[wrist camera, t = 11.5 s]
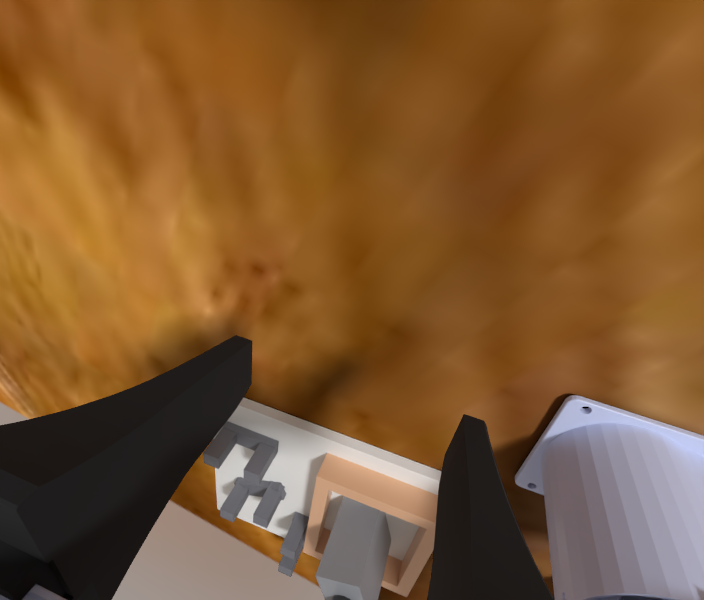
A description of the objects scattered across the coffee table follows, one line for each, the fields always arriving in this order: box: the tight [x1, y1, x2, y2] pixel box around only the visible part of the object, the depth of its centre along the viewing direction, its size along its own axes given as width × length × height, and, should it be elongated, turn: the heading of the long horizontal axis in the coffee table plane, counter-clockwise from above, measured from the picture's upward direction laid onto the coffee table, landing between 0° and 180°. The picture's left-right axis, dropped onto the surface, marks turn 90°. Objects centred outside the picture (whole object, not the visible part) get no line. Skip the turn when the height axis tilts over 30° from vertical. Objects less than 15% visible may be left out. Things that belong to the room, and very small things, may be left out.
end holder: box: [303, 453, 438, 597], centre depth 30 cm, size 9×11×2 cm
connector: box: [316, 496, 391, 600], centre depth 29 cm, size 3×5×7 cm, turn 11°
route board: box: [203, 397, 442, 577], centre depth 32 cm, size 19×16×4 cm
